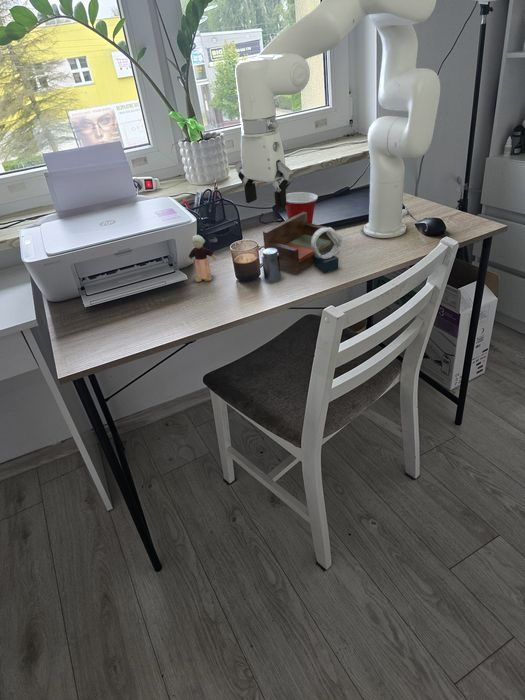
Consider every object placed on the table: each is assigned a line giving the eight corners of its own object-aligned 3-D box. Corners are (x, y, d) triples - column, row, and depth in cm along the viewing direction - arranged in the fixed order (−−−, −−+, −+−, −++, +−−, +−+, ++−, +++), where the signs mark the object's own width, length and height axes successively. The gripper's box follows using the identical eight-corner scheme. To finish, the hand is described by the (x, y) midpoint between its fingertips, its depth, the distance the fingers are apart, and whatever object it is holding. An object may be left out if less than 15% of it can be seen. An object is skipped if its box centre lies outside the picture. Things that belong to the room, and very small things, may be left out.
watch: (344, 267, 124) (344, 227, 118) (318, 275, 122) (316, 235, 115) (334, 259, 128) (333, 221, 122) (308, 267, 126) (306, 228, 120)
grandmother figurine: (192, 284, 125) (182, 240, 118) (191, 278, 128) (182, 234, 121) (220, 279, 126) (212, 235, 118) (218, 273, 129) (211, 230, 122)
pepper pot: (272, 273, 125) (269, 246, 121) (284, 277, 123) (281, 249, 118) (261, 280, 123) (257, 252, 118) (273, 284, 120) (270, 255, 116)
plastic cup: (326, 234, 144) (325, 195, 137) (295, 243, 140) (293, 204, 133) (307, 224, 152) (306, 187, 145) (279, 232, 148) (275, 195, 141)
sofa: (304, 244, 139) (303, 211, 133) (334, 251, 132) (334, 217, 127) (266, 265, 130) (262, 231, 124) (296, 275, 123) (293, 239, 117)
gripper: (300, 124, 97) (304, 205, 107) (243, 121, 108) (251, 194, 117) (276, 132, 93) (282, 215, 103) (219, 127, 103) (230, 203, 113)
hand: (266, 204), depth 110 cm, fingers open, 9 cm apart
